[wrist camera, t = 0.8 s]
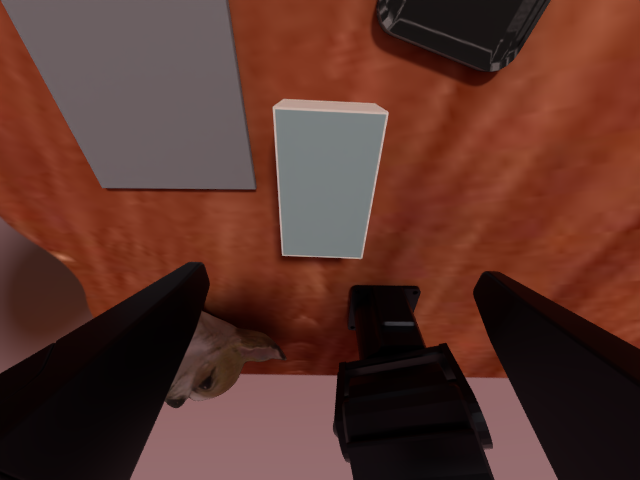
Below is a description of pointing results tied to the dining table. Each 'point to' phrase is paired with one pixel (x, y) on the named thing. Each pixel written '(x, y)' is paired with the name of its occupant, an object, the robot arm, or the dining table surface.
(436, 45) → the phone
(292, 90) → the dining table surface
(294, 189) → the card box
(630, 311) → the dining table surface
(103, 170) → the mat
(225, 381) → the ceramic sculpture
